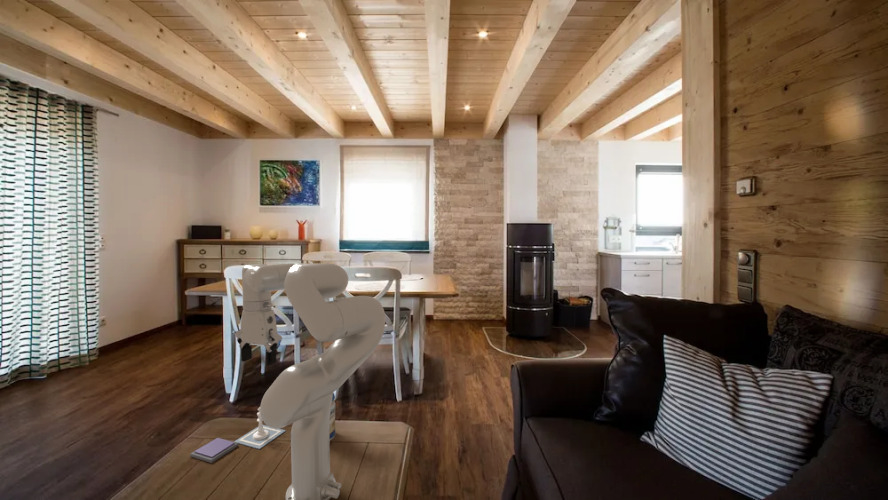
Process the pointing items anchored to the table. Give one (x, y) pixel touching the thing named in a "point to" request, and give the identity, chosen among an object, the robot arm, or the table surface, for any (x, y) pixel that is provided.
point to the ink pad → (214, 450)
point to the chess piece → (260, 429)
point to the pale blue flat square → (258, 444)
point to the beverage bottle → (332, 419)
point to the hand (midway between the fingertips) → (258, 361)
